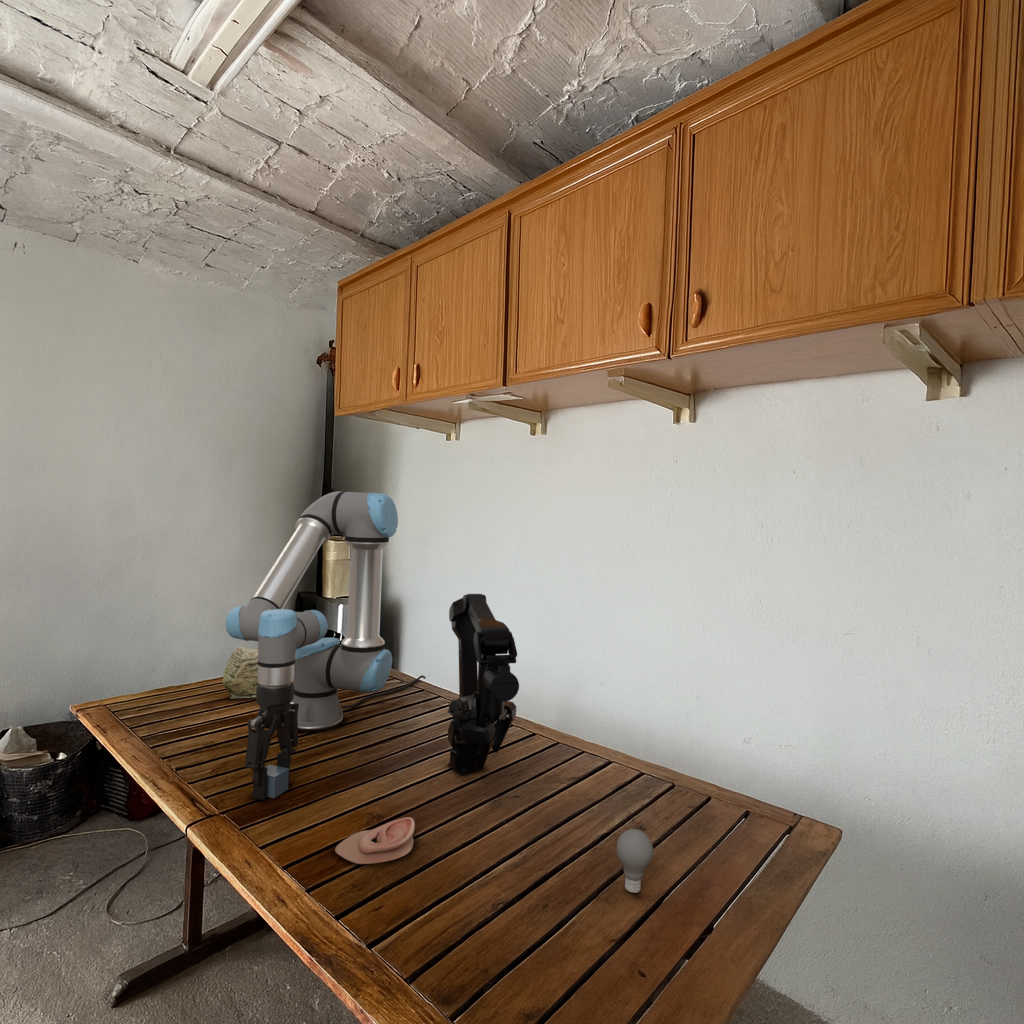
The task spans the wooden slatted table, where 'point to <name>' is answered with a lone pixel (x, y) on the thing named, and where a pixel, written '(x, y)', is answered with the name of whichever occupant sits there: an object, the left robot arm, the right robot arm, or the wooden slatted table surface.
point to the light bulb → (634, 857)
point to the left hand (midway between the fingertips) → (271, 790)
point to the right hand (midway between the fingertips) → (487, 760)
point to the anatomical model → (379, 843)
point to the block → (276, 780)
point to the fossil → (242, 673)
